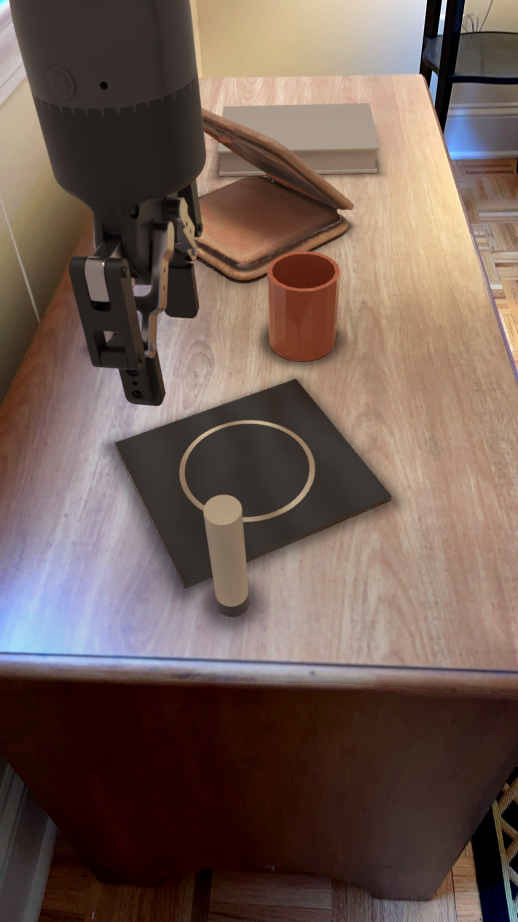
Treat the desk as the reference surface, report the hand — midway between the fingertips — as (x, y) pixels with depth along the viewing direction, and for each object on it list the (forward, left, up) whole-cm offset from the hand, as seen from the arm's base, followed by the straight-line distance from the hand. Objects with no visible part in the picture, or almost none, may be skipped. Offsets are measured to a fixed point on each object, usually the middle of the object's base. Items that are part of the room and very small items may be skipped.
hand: (166, 355), depth 43 cm
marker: (-1, +6, -21) cm, 22 cm away
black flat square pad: (-8, -6, -21) cm, 24 cm away
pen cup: (-22, -21, -21) cm, 37 cm away
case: (-27, -46, -22) cm, 58 cm away
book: (-45, -65, -22) cm, 82 cm away
